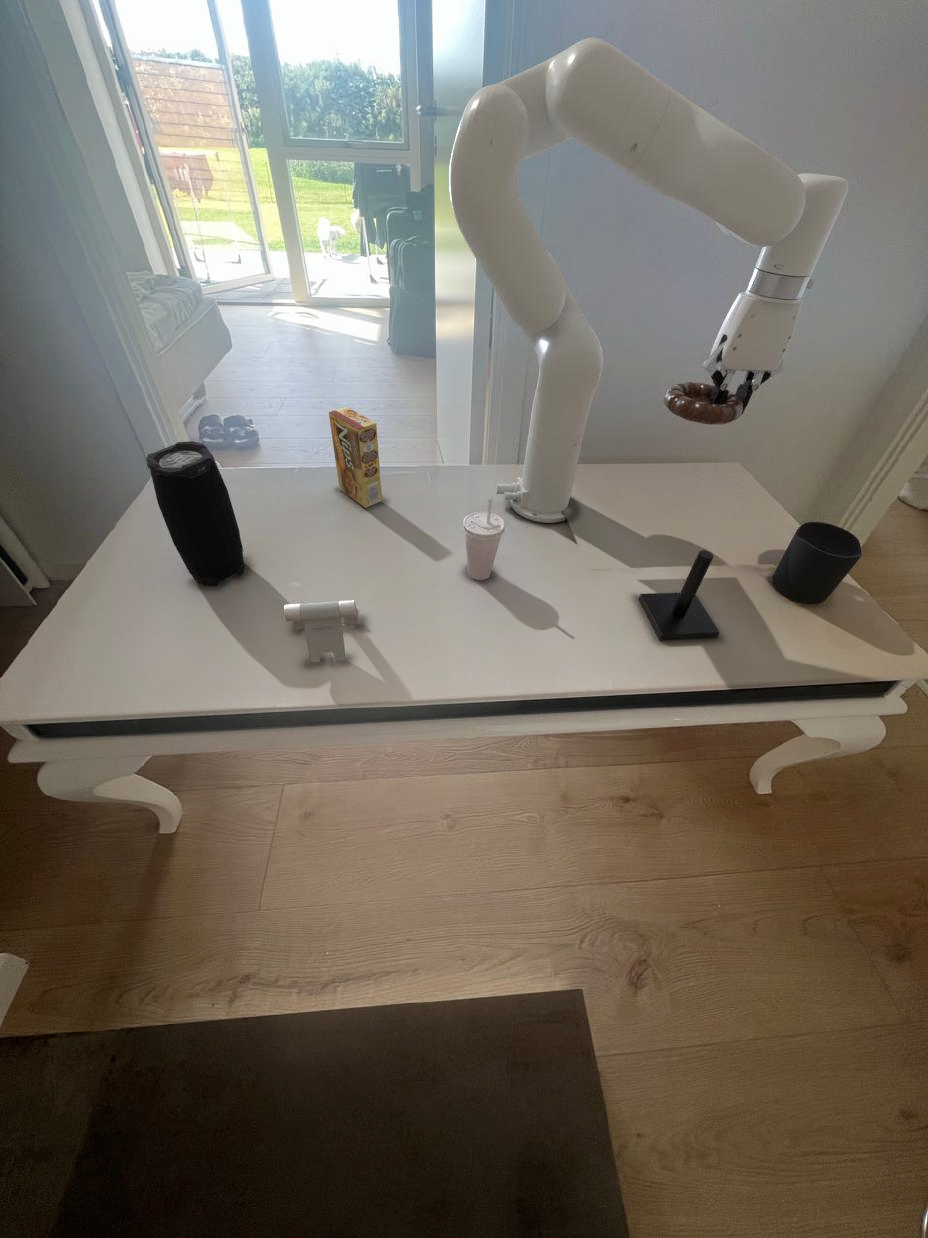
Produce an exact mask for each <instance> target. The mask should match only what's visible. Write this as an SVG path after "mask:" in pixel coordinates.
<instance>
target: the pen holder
mask: <svg viewBox="0 0 928 1238" xmlns="http://www.w3.org/2000/svg"><path fill="white" fill-rule="evenodd" d="M862 556H863V555H862V545H861V543H860V540H859V539H858V537H857V536H856V535H855V534H853V533H852V532H851V531H848V530H847V529H844V528H843V527H840V526H837V525H836V524H835V525H834V524H831V523H827V522H824V521H807V522H805V523H802V524H801V525H799V527H798V528H797V529H796V530H795V533H794V534H793V536H792V538H791V540H790V542H789V544H788V545H787V547H786V549H785V551H784V553H783V555H782V557H781V559H780V560H779V562H778V564H777V566H776V568H775V570H774V572H773V574H772V576H771V581H772V585H773V587H774V588H775V589H776V590H777V591H778V593H780V594H781V595H782V596H783V597H785V598H787V599H789V600H791V601H794V602H796V603H800V604H803V605H819V604H821V603H824V602H826V600H828V598H829V597H830V596H831V595H832V593H833V592H835V590H836V589H837V588H838V586H839V585H841V583H842V582H843V580H844V579H845V578H846V576H847V575H848V574H849V573H850V572H851V570H852V569H853V568H854V566H855V565H856V564H857V563H858V561H859V560H860V558H862Z"/></svg>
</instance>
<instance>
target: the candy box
mask: <svg viewBox="0 0 928 1238" xmlns="http://www.w3.org/2000/svg"><path fill="white" fill-rule="evenodd" d="M328 418H329V424H330V433H331V439H332V446H333V453H334V460H335V467H336V475H337V481H338V482H337V483H338V488H339V490H340V491H341V492H343V494H344V495H345V494H346V495H347V496H348V497H349V498H351V499H352V500H354V502H356V503H358V504H359V505H361V506H362V507H364V508H365V509H367V508H369V507H371V506H374V505H376V504H379V503H381V502H382V501H383V495H382V494H383V493H382V482H381V470H380V469H381V468H380V456H379V442H378V441H379V440H378V428H377V423H376V422H374V421H373V420H371V419H369V418H368V417H366V416H365V415H363V414H361V413H359V412H357V411H355V410H354V409H352V408H350V407H349V406H345V407H341V408H337V409H335V410H331V411H329V412H328Z"/></svg>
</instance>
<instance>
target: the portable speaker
mask: <svg viewBox="0 0 928 1238" xmlns="http://www.w3.org/2000/svg"><path fill="white" fill-rule="evenodd" d="M146 462H147V463H146V466H147V468H148V469H149V471H150V476H151V479H152V480H151V481H152V484H153V489H154V492H155V497H156V502H157V505H158V507H159V510H160V513H161V515H162V518H163V520H164V524H165V525H166V529H167V530H168V533H169V535H170V538H171V540H172V543H173V545H174V547H175V548H176V551H177V552H178V555H179V557H180V558H181V560H182V562H183V563H184V565H185V567H186V569H187V571H188V572H189V574H190V575H191V577H192V578H193V580H194V582H196V583H198V584H200V585H201V586H205V587H217V586H218V585H219V584H220V583H221V582H223V581H225V580H227V579H229V578H231V577H233V576H235V575H239V576H241V575H242V574H244V572H245V567H246V564H245V561H244V548H243V543H242V538H241V533H240V528H239V524H238V521H237V518H236V515H235V510H234V507H233V504H232V501H231V497H230V494H229V490H228V488H227V486H226V483H225V481H224V478H223V476H222V474H221V472H220V469H219V467H218V465H217V462H216V460H215V458H214V456H213V454H212V453H211V451H210V450H209V449H208V447H207V446H206V445H205V444H204V443H201V442H197V441H194V440H193V441H191V440H190V441H188V440H187V441H178V442H176V443H174V444H173V445H170V446H169V445H168V446H167V447H164V448H162V449H160V450H157V451H155V452H151V453H148V454H147V456H146Z"/></svg>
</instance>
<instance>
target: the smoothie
mask: <svg viewBox="0 0 928 1238" xmlns="http://www.w3.org/2000/svg"><path fill="white" fill-rule="evenodd" d="M487 499H488V501H487V509H486V511H474V512H472V513H469V514H468V515H466V516H465V517H464V518H463V523H462V530H463V533H464V538H465V551H466V565H467V575H468V576H469V577H470V578H471V579H473V580H476V581H485V580H487V579H488V578H489V579H490V576H491V573H492V569H493V566H494V564H495V563H494V562H495V559H496V556H497V552H498V548H499V545H500V542H501V538H502V536H503V535H504V533H505V530H506V529H505V527H506V522H505V521H504V519H503V518H502V517H501V516H500V515H497V514H495V513H492V505H493V497H492V496H489V497H488V498H487Z"/></svg>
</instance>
